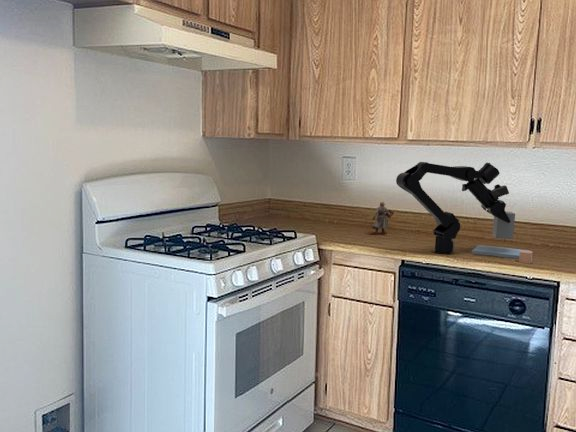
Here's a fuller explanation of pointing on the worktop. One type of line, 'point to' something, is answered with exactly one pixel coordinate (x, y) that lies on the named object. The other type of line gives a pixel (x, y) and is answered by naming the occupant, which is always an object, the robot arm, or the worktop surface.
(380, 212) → the figurine
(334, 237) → the worktop surface
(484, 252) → the board
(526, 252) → the exposed block
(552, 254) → the worktop surface
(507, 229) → the tall gray block
